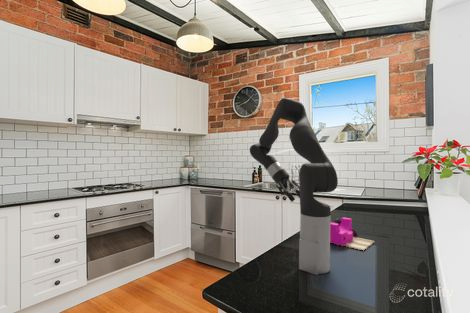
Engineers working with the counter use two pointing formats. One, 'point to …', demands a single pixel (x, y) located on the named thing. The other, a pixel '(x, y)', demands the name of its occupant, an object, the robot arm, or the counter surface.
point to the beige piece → (359, 243)
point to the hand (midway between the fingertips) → (298, 199)
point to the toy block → (341, 232)
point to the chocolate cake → (340, 223)
